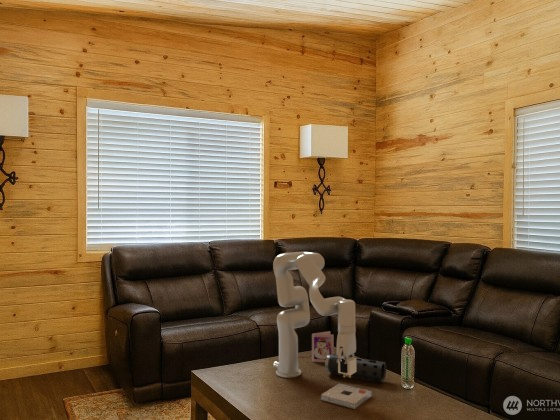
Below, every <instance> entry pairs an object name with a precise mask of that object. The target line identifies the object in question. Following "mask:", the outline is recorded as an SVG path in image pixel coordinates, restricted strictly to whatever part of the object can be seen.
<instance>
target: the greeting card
mask: <svg viewBox="0 0 560 420" xmlns="http://www.w3.org/2000/svg"><path fill="white" fill-rule="evenodd" d="M334 340H335V339H334V334H331V331H330V330H329V331H323V332H322V331H321V332H316V333H315V332H314V333H311V362H312V363H325V361H326V358H327V356H328V355H329V354H335V351H334V348H335V347H334V346H335V345H334V344H335V343H334Z"/></svg>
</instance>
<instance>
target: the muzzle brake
mask: <svg viewBox="0 0 560 420" xmlns="http://www.w3.org/2000/svg"><path fill="white" fill-rule="evenodd" d="M337 357H338V356H337V353H334V354H329V355H328V356H327V358H326V361H325V362H324V368H325V371H326V372H329V373H330V374H333V375H339V377H342V378H347V377H349V375H348V376H346V374H345V377H344V374H342V373H338V363H337V362H336V360H337V359H338V358H337ZM355 358H356V372H355V373H354V374H352V375H351V378H355V379H356V378H357V379H358V380H363V381H367V382H372V383H379V384H383V383H384V381H385V379H386V374H387V364H386V362H385V361H381V360H380V361H378V360H374V359H367V358H360V357H355Z"/></svg>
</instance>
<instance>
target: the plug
mask: <svg viewBox="0 0 560 420" xmlns="http://www.w3.org/2000/svg"><path fill="white" fill-rule="evenodd" d="M354 357H355V356H354ZM354 357H349V356H348V357H347V363H346V364H347V373H343V372H340V361H339V359H337V360H336V362H337V363H338V373H342V374H344V377H343V378H346V377H345V374H346V376H347V377H348V378H350V379H351V378H352V377H351V375H352V374H354V373H355V372H356V358H357V357H355V358H354ZM342 358H343V359H344V360H345V358H344V357H342ZM348 375H349V376H348Z"/></svg>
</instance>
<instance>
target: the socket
mask: <svg viewBox="0 0 560 420" xmlns="http://www.w3.org/2000/svg"><path fill="white" fill-rule="evenodd" d="M370 398H372V390H368V389H364V388H360V387H355V386H351V385H347V384H343V383H337V384H336V385H334V386H333V387H331V388H329V389H328V390H326V391H325V392H323V393H321V394H320V400H321V401H322V402H326V403H330V404H333V405H337V406H341V407H344V408H347V409H351V410H356V409H357V408H359V407H360V406H361V405H363V404H364V403H365V402H366V401H368V400H369V399H370Z"/></svg>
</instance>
